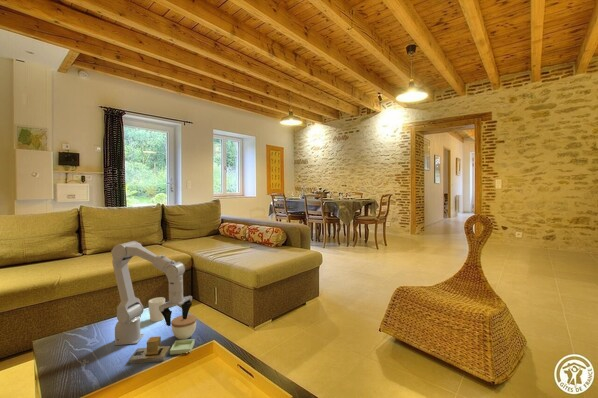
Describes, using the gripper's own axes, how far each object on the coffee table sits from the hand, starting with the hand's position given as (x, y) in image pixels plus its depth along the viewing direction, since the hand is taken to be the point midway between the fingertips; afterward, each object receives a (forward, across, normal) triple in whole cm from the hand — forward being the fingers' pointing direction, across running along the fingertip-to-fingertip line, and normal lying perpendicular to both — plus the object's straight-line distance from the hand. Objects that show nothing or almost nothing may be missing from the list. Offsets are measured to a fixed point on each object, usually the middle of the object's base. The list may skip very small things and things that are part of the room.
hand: (176, 321), depth 127 cm
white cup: (+10, +8, +32) cm, 35 cm away
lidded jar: (+10, +6, +4) cm, 12 cm away
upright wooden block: (+10, -10, 0) cm, 14 cm away
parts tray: (+10, -1, -5) cm, 11 cm away
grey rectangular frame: (+10, -12, +1) cm, 15 cm away
